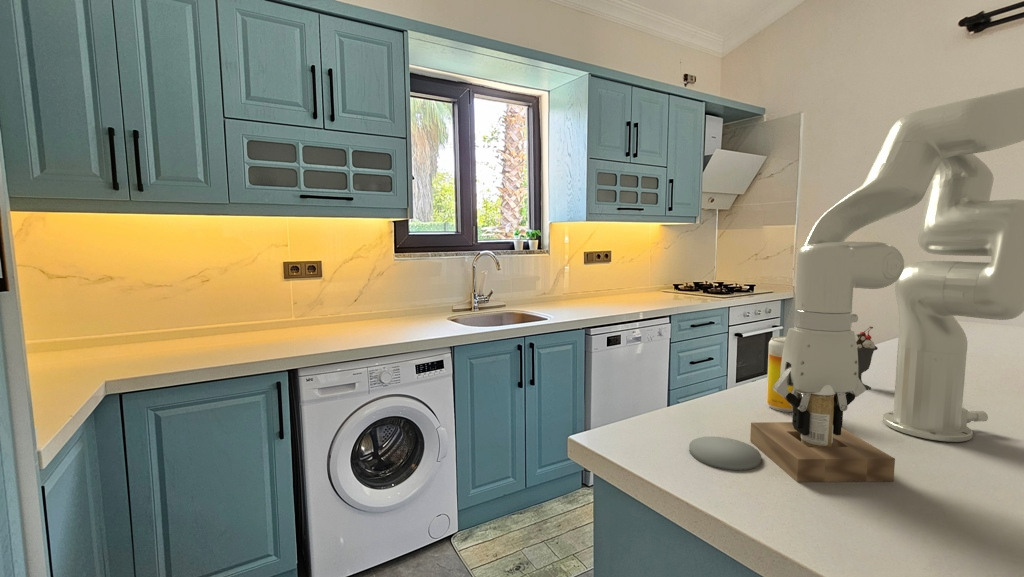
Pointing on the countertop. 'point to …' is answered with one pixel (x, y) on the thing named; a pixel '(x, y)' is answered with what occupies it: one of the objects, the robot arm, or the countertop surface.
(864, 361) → the sundae
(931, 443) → the countertop surface
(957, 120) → the robot arm
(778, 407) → the beer can
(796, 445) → the walnut pocket block
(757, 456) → the slate coaster
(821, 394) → the sprinkles bottle
